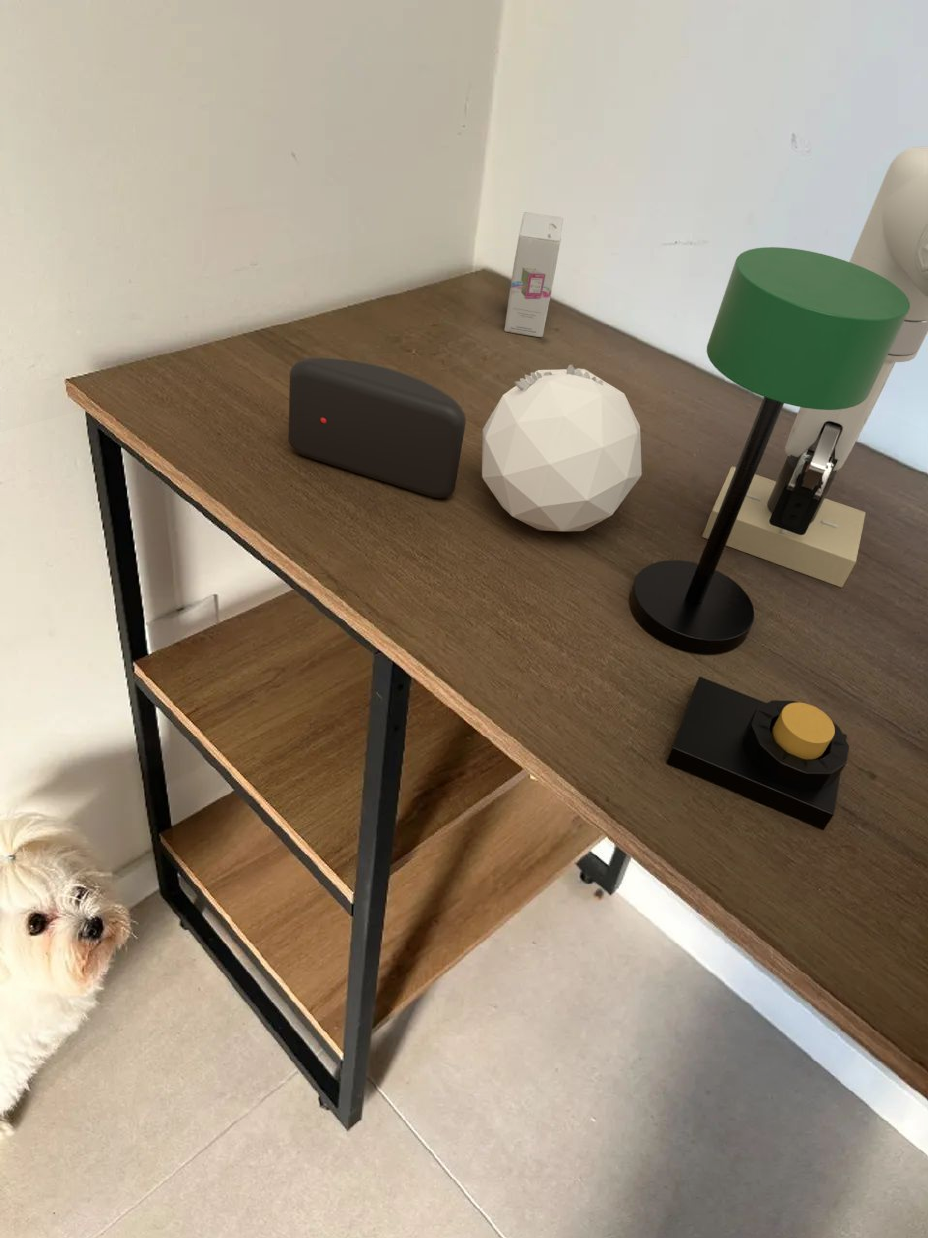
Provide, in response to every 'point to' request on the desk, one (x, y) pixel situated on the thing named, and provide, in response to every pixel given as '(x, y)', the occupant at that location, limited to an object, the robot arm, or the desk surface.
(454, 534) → the desk surface
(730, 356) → the desk lamp
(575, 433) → the geodesic sphere
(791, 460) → the dimmer knob
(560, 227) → the ink box
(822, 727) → the button
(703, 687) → the button base
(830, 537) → the dimmer panel
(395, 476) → the dark grey speaker
